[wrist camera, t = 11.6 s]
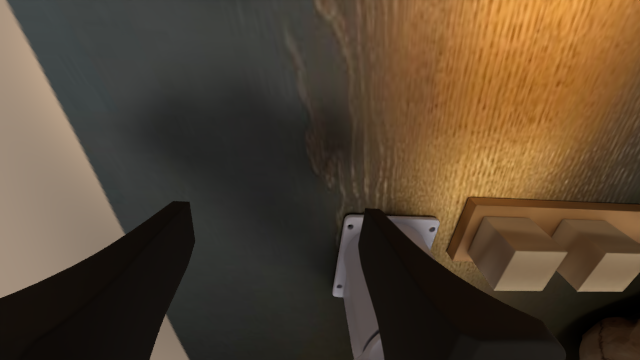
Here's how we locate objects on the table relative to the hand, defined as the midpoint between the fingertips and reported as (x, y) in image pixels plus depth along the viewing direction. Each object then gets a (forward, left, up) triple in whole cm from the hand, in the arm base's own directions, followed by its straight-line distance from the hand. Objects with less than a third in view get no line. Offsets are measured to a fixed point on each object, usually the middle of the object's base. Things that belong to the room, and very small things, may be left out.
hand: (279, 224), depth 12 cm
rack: (-7, -25, -9) cm, 28 cm away
